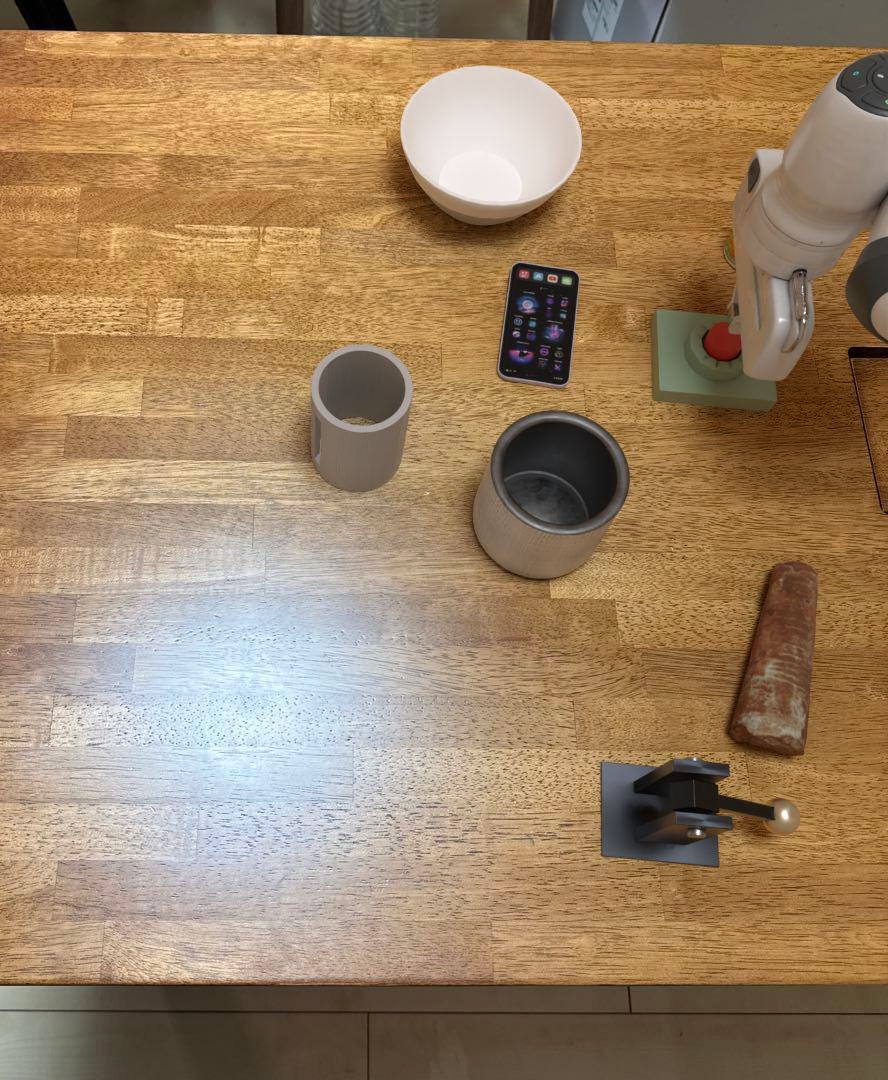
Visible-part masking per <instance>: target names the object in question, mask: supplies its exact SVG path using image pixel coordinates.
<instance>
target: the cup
mask: <svg viewBox="0 0 888 1080" xmlns="http://www.w3.org/2000/svg"><path fill="white" fill-rule="evenodd" d="M310 381H311V382H310V455H311V460H312V463H313V466H314V468H315V470H316V471H317V473H318V474H319V476H321V478H323V480H325V482H327V483H328V484H330V485H331V486H333V487H335V488H338V489H340V490H343V491H346V492H351V493H362V492H369V491H372V490H373V491H374V490H376V489H378V488H380V487H383V486H384V485H385V484H386V483H388V482H389V481H390V480H392V478H393V477H394V476H395V475H396V474H397V472H398V470H399V468H400V466H401V463H402V460H403V454H404V448H405V443H406V438H407V437H406V436H407V432H408V427H409V426H408V424H409V419H410V414H411V409H412V408H411V407H412V402H413V396H414V386H413V385H414V383H413V379H412V376H411V374H410V372H409V369H408V368H407V366H406V365H405V364H404V363H403V361H402V360H401V359H399V358H398V357H397V356H396V355H395V354H394V353H393V352H390V351H388V350H387V349H384V348H382V347H379V346H375V345H371V344H367V343H366V344H349V345H345V346H342V347H340V348H337V349H334V350H333V351H332V352H330V353H329V354H328V355H326V356H325V357H324V358H323V359H322V360H321V361H320V362H319V363H318V364H317V365H316V368H315V370H314V372H313V374H312V377H311V380H310ZM348 418H364V419H368V420H372V421H373V422H376V423H374V424H369V425H357V424H353V423H352V424H351V423H348V422H345V421H343V420H344V419H348Z"/></svg>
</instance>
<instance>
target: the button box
mask: <svg viewBox="0 0 888 1080" xmlns="http://www.w3.org/2000/svg"><path fill="white" fill-rule="evenodd" d="M649 322H650V349H651V351H650V354H651V379H652V380H651V381H652V383H651V384H652V401H653V402H660V403H671V404H680V405H682V404H683V405H691V406H703V407H712V408H724V409H735V410H745V411H755V412H765V413H766V412H770V411H771V409H772V408H773V407H774V406H775V405H776V403H777V402H778V393H777V384H776V383H777V382H776V381H769V380H759V379H754V378H751V377H748V376H746V375H745V374H744V371H743V360H742V348H741V350H740V351H739V353H738V354H737V355H736V357H735V358H733V359H731V360H728V361H719V360H716V359H714V358H712V357H711V356H709V355H708V354H707V352H706V351H705V349H704V339H705V337H706V336H707V334H708V332H709V331H710V329H711V328H712V326H713V325H715V324H716V323H719V322H728V315H727V314H714V313H705V312H695V311H684V310H683V311H682V310H672V309H661V308H656V309H655V311H654V314H653V315H652V317H651V319H650V321H649Z"/></svg>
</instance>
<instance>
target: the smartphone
mask: <svg viewBox="0 0 888 1080" xmlns="http://www.w3.org/2000/svg"><path fill="white" fill-rule="evenodd" d="M580 283H581V275H580V274H579V273H578V272H577V271H576V270H575V269H571V268H565V267H559V266H558V267H557V266H553V265H546V264H538V263H532V262H526V261H517V262H515V263H513V264H512V265H511V267H510V271H509V280H508V286H507V294H506V299H505V300H506V301H505V309H504V315H503V323H502V331H501V336H500V337H501V338H500V346H499V353H498V360H497V367H496V368H497V369H496V372H497V375H498V376H499V377H500V378H501V379H502V380H504V381H507V382H512V383H513V382H514V383H520V384H521V383H522V384H528V385H532V386H533V385H534V386H541V387H546V388H551V389H563V388H566V387H567V386H568V385H569V383H570V379H571V373H572V363H573V362H572V361H573V354H574V342H575V333H576V332H575V331H576V322H577V313H578V303H579V294H580Z"/></svg>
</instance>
